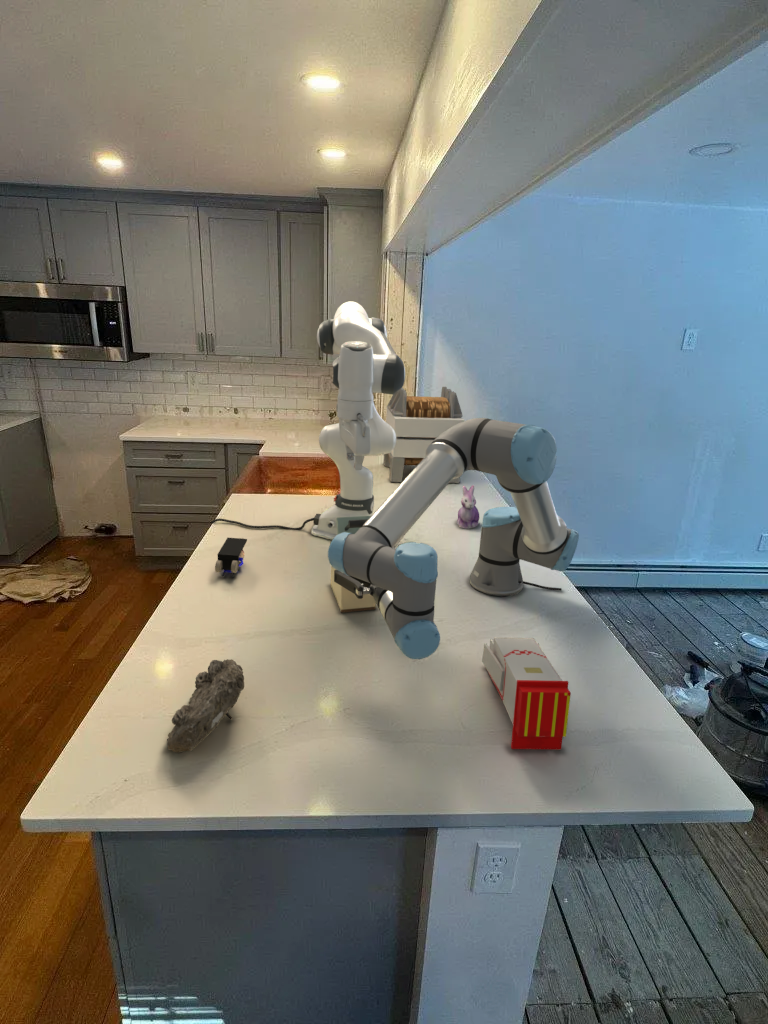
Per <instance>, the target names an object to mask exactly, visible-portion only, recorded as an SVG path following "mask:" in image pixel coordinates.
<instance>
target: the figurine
mask: <svg viewBox="0 0 768 1024" xmlns="http://www.w3.org/2000/svg"><path fill="white" fill-rule="evenodd" d="M474 492H475V485H474V484H472V485H471V486H470V487H469V489H468V488H467V487H466V485H463V486H462V497H461V500H460V503H461V508H459V509H458V510H457V511H458V512H457V520H456V524H457V526H459V528H460V529H467V530H468V529H473V528H476V527H477V526H478V525H479V522H480V512H479V509H478V507H477V506H476V505H477V500H476V497H475V495H474Z"/></svg>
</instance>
